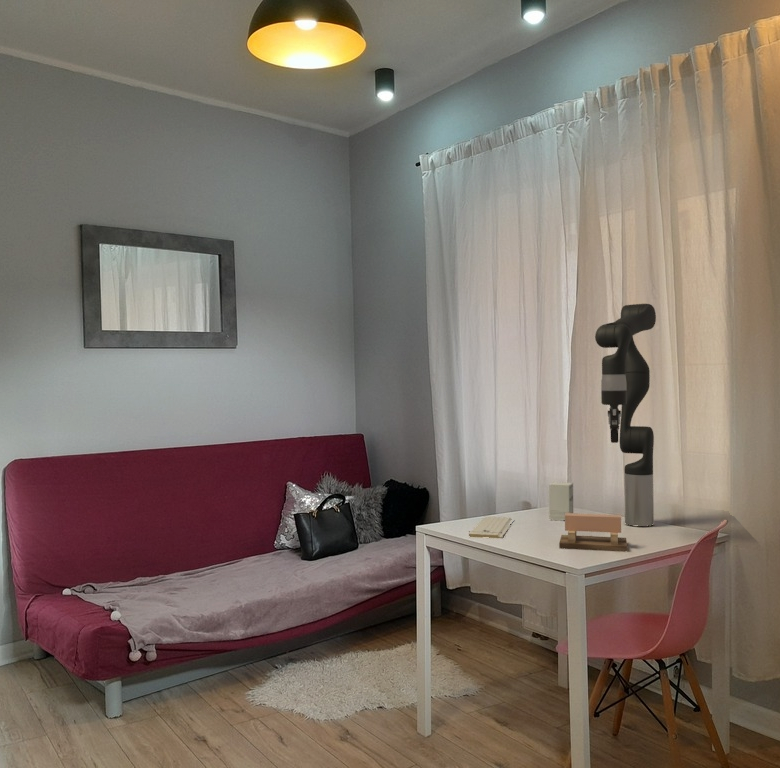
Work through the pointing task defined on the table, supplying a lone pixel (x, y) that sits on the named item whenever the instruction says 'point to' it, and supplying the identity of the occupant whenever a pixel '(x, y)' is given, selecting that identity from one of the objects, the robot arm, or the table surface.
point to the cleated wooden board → (593, 542)
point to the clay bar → (592, 522)
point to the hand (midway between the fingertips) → (614, 441)
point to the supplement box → (560, 500)
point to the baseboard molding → (491, 527)
